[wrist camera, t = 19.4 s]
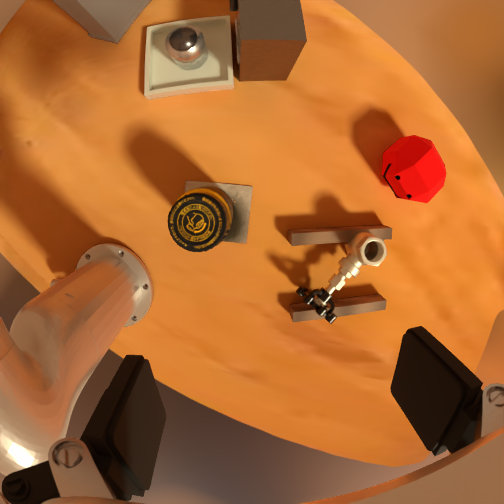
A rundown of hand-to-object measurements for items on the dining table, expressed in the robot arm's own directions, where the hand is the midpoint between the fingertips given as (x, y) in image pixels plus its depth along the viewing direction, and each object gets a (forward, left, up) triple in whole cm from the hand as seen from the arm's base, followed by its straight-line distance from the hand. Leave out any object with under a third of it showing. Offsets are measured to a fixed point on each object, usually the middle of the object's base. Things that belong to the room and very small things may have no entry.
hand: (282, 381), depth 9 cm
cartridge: (-6, +25, -28) cm, 38 cm away
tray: (-6, +25, -28) cm, 38 cm away
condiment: (-4, +3, -29) cm, 29 cm away
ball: (+22, +8, -28) cm, 37 cm away
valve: (+12, -6, -28) cm, 31 cm away
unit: (+3, +25, -28) cm, 38 cm away
